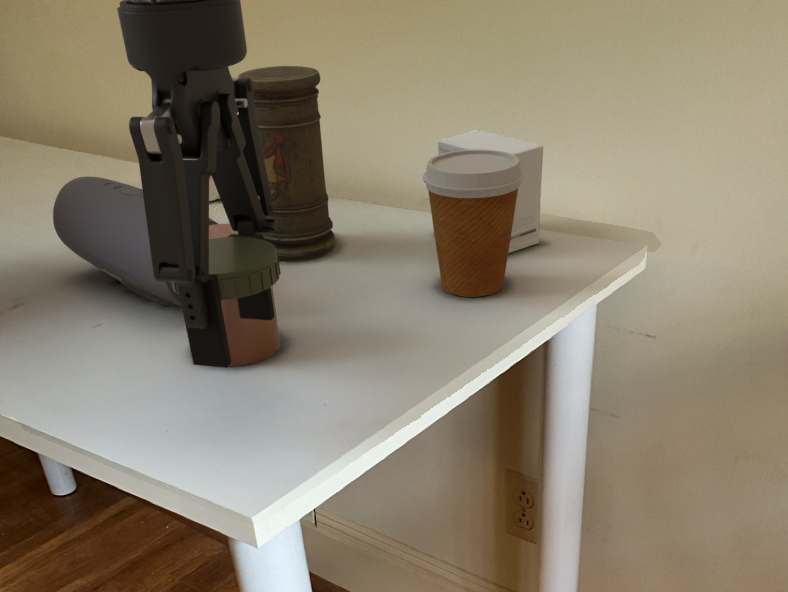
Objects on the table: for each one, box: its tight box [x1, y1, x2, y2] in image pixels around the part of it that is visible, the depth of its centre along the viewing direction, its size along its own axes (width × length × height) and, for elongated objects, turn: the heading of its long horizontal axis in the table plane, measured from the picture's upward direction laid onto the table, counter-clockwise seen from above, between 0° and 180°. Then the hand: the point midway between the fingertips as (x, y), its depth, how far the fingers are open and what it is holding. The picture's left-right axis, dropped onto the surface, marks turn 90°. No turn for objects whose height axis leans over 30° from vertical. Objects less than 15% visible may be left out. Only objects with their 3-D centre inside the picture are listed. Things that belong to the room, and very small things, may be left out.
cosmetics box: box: [437, 128, 544, 254], centre depth 98 cm, size 10×6×10 cm, turn 37°
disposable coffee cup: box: [422, 150, 524, 298], centre depth 86 cm, size 10×10×12 cm
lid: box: [170, 237, 282, 300], centre depth 64 cm, size 8×8×2 cm
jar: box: [209, 223, 281, 367], centre depth 77 cm, size 8×8×10 cm
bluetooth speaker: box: [52, 176, 219, 307], centre depth 89 cm, size 23×9×10 cm, turn 43°
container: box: [237, 65, 336, 262], centre depth 95 cm, size 9×9×18 cm
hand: (236, 339), depth 68 cm, fingers closed on lid, 8 cm apart
